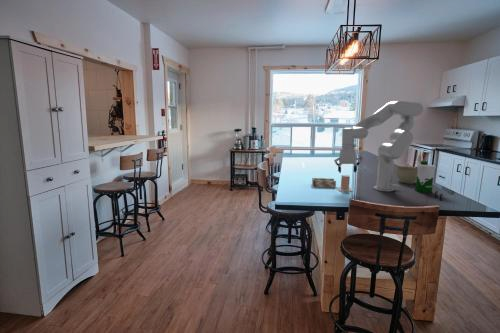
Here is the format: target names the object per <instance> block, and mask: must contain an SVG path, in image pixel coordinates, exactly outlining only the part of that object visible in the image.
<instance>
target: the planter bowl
mask: <svg viewBox="0 0 500 333" xmlns="http://www.w3.org/2000/svg"><path fill="white" fill-rule="evenodd" d="M395 170H396V171H395V172H396V173H395V174H396V176H397V178H398V180H399V182H400V183H402V184H414V183H415V182H416V181H417V174H418V167H413V166H403V165H401V166H396V169H395Z"/></svg>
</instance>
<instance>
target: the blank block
mask: <svg viewBox="0 0 500 333" xmlns="http://www.w3.org/2000/svg"><path fill="white" fill-rule="evenodd" d="M350 179H351V177H350V175H347V174H341V179H340V180H341V181H340V187H341V189H342V190H349V187H350V182H351V181H350Z"/></svg>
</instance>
